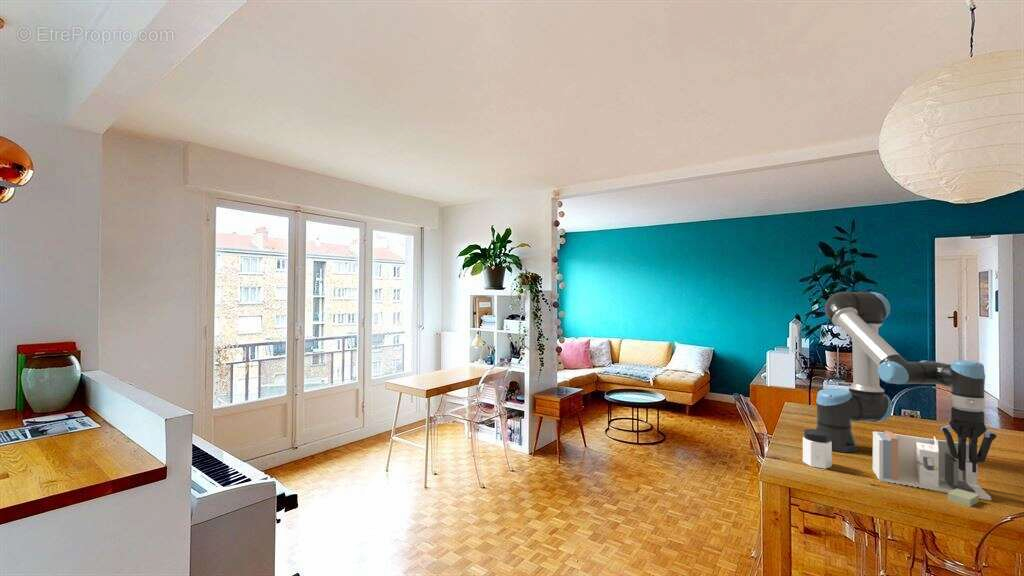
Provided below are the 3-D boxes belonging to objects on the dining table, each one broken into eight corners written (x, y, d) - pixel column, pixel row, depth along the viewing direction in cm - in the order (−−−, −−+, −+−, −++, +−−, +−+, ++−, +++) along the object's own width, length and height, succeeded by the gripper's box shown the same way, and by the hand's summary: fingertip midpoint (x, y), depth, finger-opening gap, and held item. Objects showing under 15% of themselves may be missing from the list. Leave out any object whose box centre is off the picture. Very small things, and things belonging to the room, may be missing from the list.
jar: (803, 465, 162) (803, 433, 162) (801, 458, 169) (801, 427, 169) (833, 470, 158) (833, 437, 158) (830, 462, 165) (830, 431, 165)
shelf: (879, 480, 149) (879, 437, 149) (872, 469, 159) (872, 428, 159) (991, 500, 136) (991, 452, 136) (976, 486, 145) (976, 441, 145)
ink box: (915, 475, 152) (915, 432, 152) (935, 479, 149) (935, 435, 149) (918, 483, 145) (918, 439, 145) (939, 488, 142) (939, 442, 142)
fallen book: (970, 507, 132) (970, 499, 132) (947, 500, 136) (947, 492, 136) (979, 502, 135) (979, 494, 135) (956, 495, 139) (956, 488, 139)
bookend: (953, 489, 140) (953, 461, 140) (944, 479, 147) (944, 453, 147) (975, 492, 138) (975, 464, 138) (965, 483, 145) (965, 456, 145)
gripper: (944, 408, 142) (944, 481, 142) (1001, 414, 135) (1001, 490, 135) (936, 403, 148) (936, 472, 148) (990, 408, 142) (990, 481, 142)
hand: (967, 481), depth 142 cm, fingers closed
